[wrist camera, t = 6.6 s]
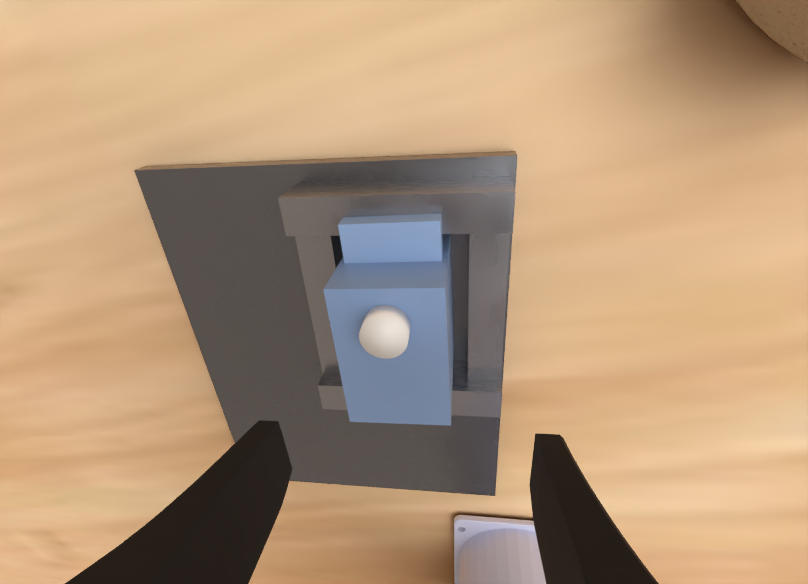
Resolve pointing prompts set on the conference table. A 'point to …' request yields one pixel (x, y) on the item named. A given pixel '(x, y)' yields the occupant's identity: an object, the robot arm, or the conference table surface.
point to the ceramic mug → (782, 22)
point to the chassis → (307, 312)
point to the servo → (394, 319)
